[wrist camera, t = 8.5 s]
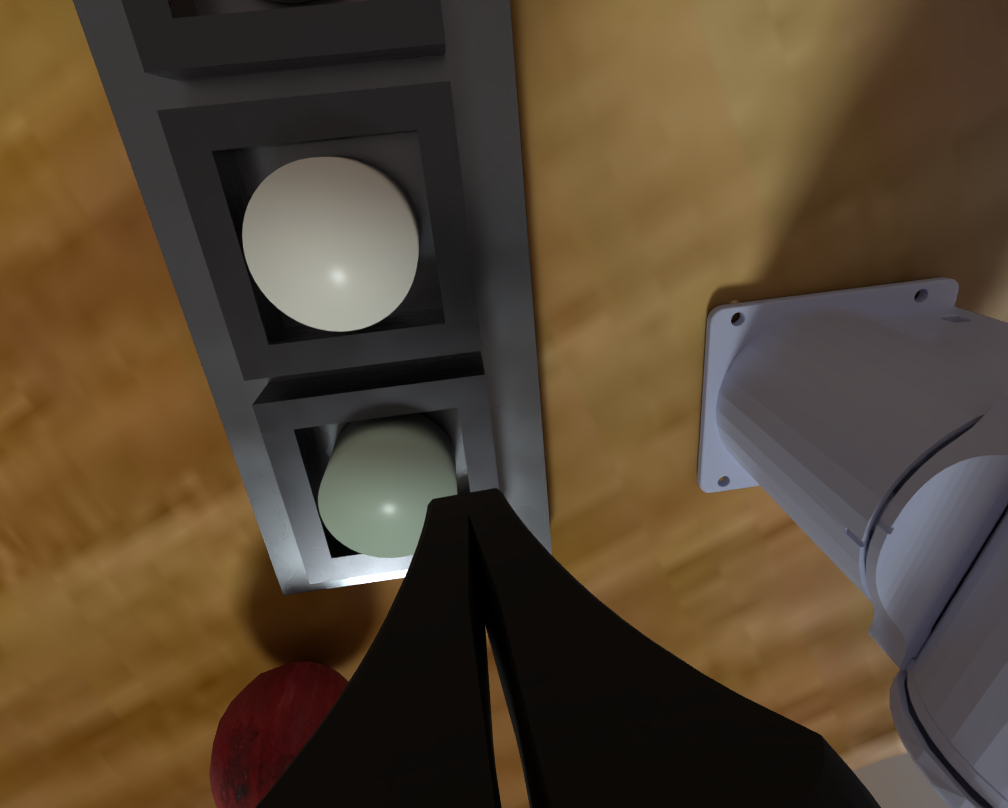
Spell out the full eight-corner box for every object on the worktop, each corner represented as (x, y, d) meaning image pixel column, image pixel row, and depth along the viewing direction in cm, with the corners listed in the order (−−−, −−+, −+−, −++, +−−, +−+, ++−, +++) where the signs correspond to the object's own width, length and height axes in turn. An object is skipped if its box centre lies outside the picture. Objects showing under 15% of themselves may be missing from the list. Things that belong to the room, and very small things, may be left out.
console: (471, -416, 12) (480, -573, 10) (546, 536, 24) (560, 586, 21) (-37, -391, 12) (-177, -549, 9) (290, 574, 23) (271, 630, 21)
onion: (218, 650, 25) (127, 857, 17) (332, 601, 24) (287, 793, 17) (290, 724, 27) (236, 933, 20) (396, 681, 27) (379, 879, 19)
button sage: (446, 400, 19) (447, 434, 17) (462, 505, 21) (465, 547, 19) (318, 417, 19) (302, 453, 17) (346, 521, 21) (335, 566, 19)
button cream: (407, 147, 16) (401, 147, 14) (431, 299, 18) (429, 321, 15) (250, 164, 16) (218, 167, 13) (291, 316, 17) (269, 340, 15)
